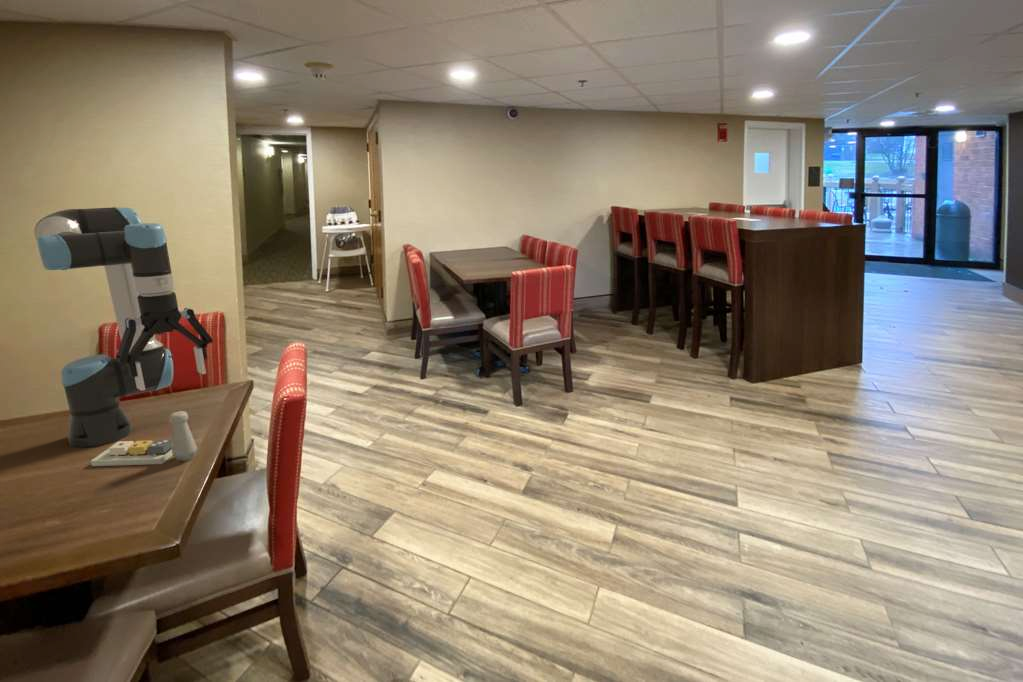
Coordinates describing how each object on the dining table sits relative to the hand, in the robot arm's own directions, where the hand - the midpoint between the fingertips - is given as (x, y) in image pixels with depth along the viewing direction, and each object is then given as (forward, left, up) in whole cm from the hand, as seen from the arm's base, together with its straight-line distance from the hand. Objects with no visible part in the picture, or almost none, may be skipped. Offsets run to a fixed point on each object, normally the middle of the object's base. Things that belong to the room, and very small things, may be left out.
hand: (172, 380), depth 134 cm
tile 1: (-24, -10, -24) cm, 36 cm away
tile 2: (-21, -7, -24) cm, 33 cm away
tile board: (-22, -8, -26) cm, 35 cm away
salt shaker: (-12, +2, -26) cm, 29 cm away
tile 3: (-18, -3, -24) cm, 30 cm away
